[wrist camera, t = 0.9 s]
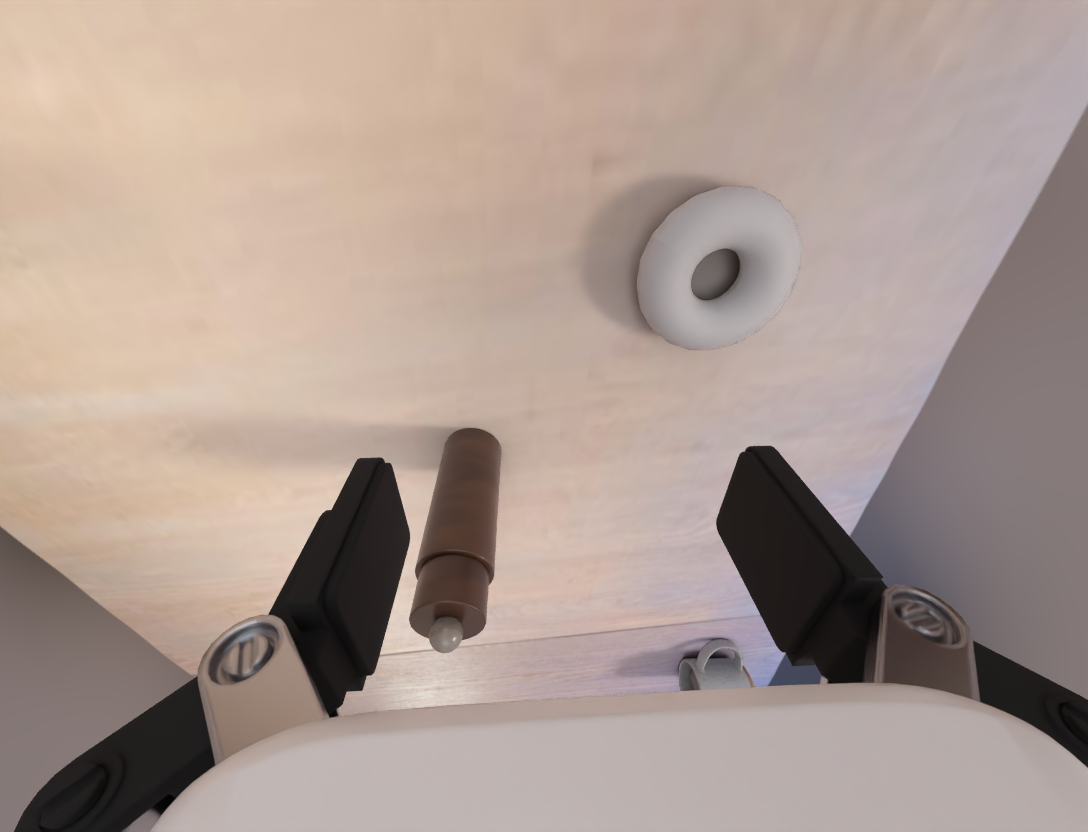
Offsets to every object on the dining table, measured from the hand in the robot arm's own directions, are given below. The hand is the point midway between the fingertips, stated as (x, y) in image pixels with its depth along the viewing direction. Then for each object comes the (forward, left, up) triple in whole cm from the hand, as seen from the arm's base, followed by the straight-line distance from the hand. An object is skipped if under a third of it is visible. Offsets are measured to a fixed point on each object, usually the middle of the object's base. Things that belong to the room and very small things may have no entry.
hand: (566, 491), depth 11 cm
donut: (-10, +5, -20) cm, 23 cm away
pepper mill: (+12, +10, -19) cm, 25 cm away
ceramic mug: (+5, +59, -20) cm, 62 cm away
